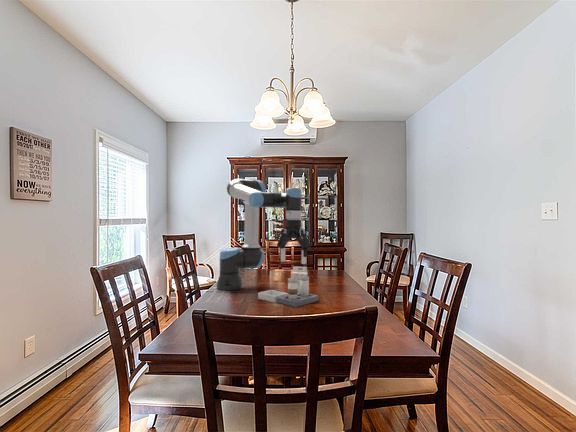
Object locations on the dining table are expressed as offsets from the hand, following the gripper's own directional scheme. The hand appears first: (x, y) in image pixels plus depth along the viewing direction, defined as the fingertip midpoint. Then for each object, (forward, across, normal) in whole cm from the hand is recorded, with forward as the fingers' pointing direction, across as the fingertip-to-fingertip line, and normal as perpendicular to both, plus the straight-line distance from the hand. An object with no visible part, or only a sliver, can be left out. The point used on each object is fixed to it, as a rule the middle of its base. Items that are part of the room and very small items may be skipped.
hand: (293, 262), depth 178 cm
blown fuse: (+20, 0, 0) cm, 20 cm away
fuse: (+20, 0, +9) cm, 22 cm away
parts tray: (+20, -13, 0) cm, 24 cm away
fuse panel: (+20, 0, +4) cm, 21 cm away
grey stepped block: (+20, -12, +20) cm, 31 cm away
